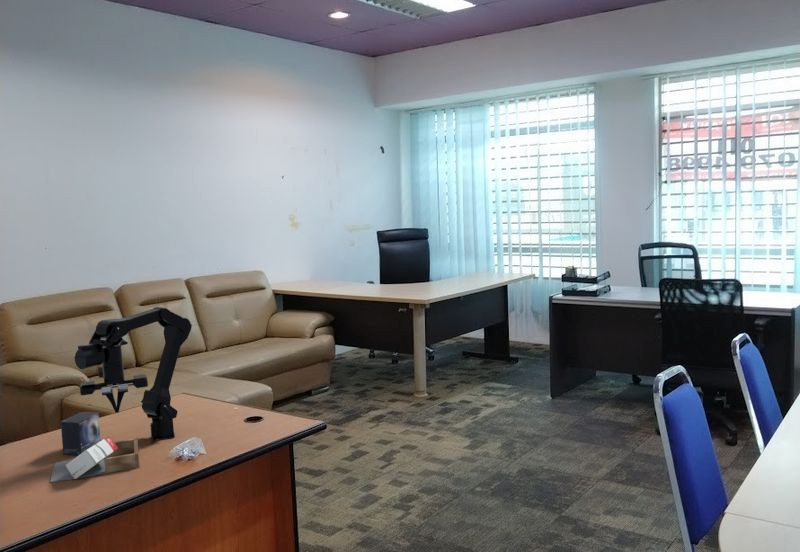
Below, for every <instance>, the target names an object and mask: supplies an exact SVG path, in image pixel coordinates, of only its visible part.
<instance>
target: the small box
mask: <svg viewBox="0 0 800 552" xmlns="http://www.w3.org/2000/svg"><path fill="white" fill-rule="evenodd" d="M60 429H61V441H62V444H61V445H62V455H73V456H79V455H80V454H81V453H83V452H84V451H85V450H87V449H89V448H90V447H92V446H93V445H95V444H97V443H98V442H100V441H101V429H100V415H99V412H96V411H95V412H93V411H80V412H79V413H76V414H74V415H71V416H70V417H67V418H65V419H63V420H61V421H60Z"/></svg>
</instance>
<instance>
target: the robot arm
mask: <svg viewBox="0 0 800 552" xmlns="http://www.w3.org/2000/svg"><path fill="white" fill-rule="evenodd" d="M153 323H158V325H159V326H161V327H162V328H163V337H164V341H165V342H164V346H163V350H162V353H161V357H160V360H159V364H158V369H157V371H156V376H155V378H154V382H153V386H151V388H150V389H149V390H148V389H145V390H144V392H143V396H142V398H141V399H142V400H141V401H140V403H141V409H142V411H143V413H144V414H146V416H147V418H148V419H151V422H150V423H149V424H150V436H151V438H153V439H152V440H153V441H160V440H165V439H166V440H167V439H172V438H173V439H174V438H175V436H176V434H175V430H174V419H176V418H177V417H178V410H177V409H175V407H173V406H172V405H171V403H172V402H171V400H172V399H171V393H170V387H171V383H172V379H173V375H174V372H175V367H176V364H177V361H178V357H179V354H180V350H181V346H182V345H183V344H184V343H185V342H186V341H187V339H188V338H189V336H190V334H191V331H192V327H193V325H192V322H191V321H190V319H189V318H186V317H182V316H181V315H178V314H176V313H175V312H173V311H171V310H170V309H168V308H167V307H162V306H161V307H160V306H155V307H153V308H152V309H148V310H145V311H142V312H139V313H136V314H133V315H132V314H131V315H129V316H127V317H126V316H125V317H122V318H121V317H120V318H110V319H109V318H108V319H102V320H100V321H98V322H97V324H96V325H95V326H96V327H95V330H94V332H93V334H92V336H91V338H90V340H89V342H88V344H84V345H83V344H81V345H78V346H77V350H76V352H75V355H74V357H73V358H74V363H75V365H76V367H77V368H78V369H80V370H85V369H89V368H93V367H97V366H101V365H102V367H97V369H98V371H97V372H98V378H99V379H103V382H99V383H96V381H95V380H91V381H90V380H89V381H82V382H81V384H80V386H79V388H80V390H79V391H80V396H88V395H89V396H90V395H93V394H94V392H95V391H97V390H98V391H99V390H100V391H101V396H106V398H107V400H108V401H109V403H110V404H111V406H112V408H113V410H114V413H116V414H118V413H119V411H120V407H121V404H122V401H123V397H124V395H125V393H128V392H129V387H130V386H134V387H135V388H136V389H140V388H147V387H149V381H148V376H147V375H146V374H137V375H133V377H132V378H130V379H125V370H124V363H123V362H124V361H123V350H122V346H125V345H128V344H129V343H128V341H126V340H124V337H125V336H127V335H128V334H129V332H131V331H134V330H137V329H139V328H142V327H145V326H148V325H151V324H153ZM113 388H117V393H116V394H117V395H116V396H117V398H116V399H115V395H114V389H113Z"/></svg>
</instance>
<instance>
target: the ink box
mask: <svg viewBox="0 0 800 552" xmlns="http://www.w3.org/2000/svg"><path fill="white" fill-rule="evenodd" d="M114 442H115V441H114V439H112V438H111V436H110V435H108V436H107V437H105V438H103V439H102V440H101V441H100V442H98V443H97V444H95V445H93V446H92V447H90V448H89V449H87V450H85V451H84V452H83V453H81V454H80V455H76V456H75V458H73V459H71V460H72V461H70V462H69V463H68V464H66V465H65V466H66V468H67V470H68V471H69V472H70V474H71V475H72V476H73V478H74V479H73V480H76V478H77V479H79V478H78V477H79V476H81V475H82V474H84V473H85V472H87V471H88V470H90V469H91V468H92V467H94V466H95V465H97V464H98V463H100V462H101V461H102V460H104V458H109V457H108V456H109V455H110V454H112V453H113V452H115V451H116V450H117V449H118V447H117V445H116V444H115V443H114Z"/></svg>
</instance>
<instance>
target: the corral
mask: <svg viewBox="0 0 800 552" xmlns="http://www.w3.org/2000/svg"><path fill="white" fill-rule="evenodd" d="M114 443H115V444H116V445H117V447H118V449H117V450H116V451H115V452H113V453H112V454H110V455H109V456H108V457H106V458H104V462H105V473H106V474H108V473H114V472H121V471H125V470H132V469H137V468H140V456H139V443H138V437H136V438H130V439H129V438H128V439H124V440H116V441H114Z"/></svg>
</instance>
